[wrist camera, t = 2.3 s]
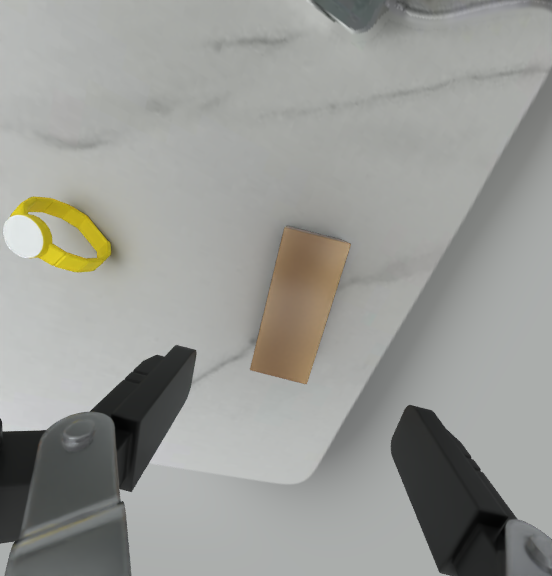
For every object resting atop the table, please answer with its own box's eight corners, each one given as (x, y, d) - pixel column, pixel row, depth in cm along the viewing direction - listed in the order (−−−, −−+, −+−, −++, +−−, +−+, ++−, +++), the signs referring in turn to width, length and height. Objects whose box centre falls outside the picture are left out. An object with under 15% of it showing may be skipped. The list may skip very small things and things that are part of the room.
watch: (129, 251, 23) (73, 262, 17) (108, 270, 23) (47, 288, 17) (78, 193, 22) (-1, 184, 16) (57, 215, 22) (-26, 214, 16)
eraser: (341, 239, 21) (351, 243, 17) (305, 357, 24) (306, 384, 20) (286, 225, 21) (284, 227, 17) (257, 345, 24) (249, 370, 20)
